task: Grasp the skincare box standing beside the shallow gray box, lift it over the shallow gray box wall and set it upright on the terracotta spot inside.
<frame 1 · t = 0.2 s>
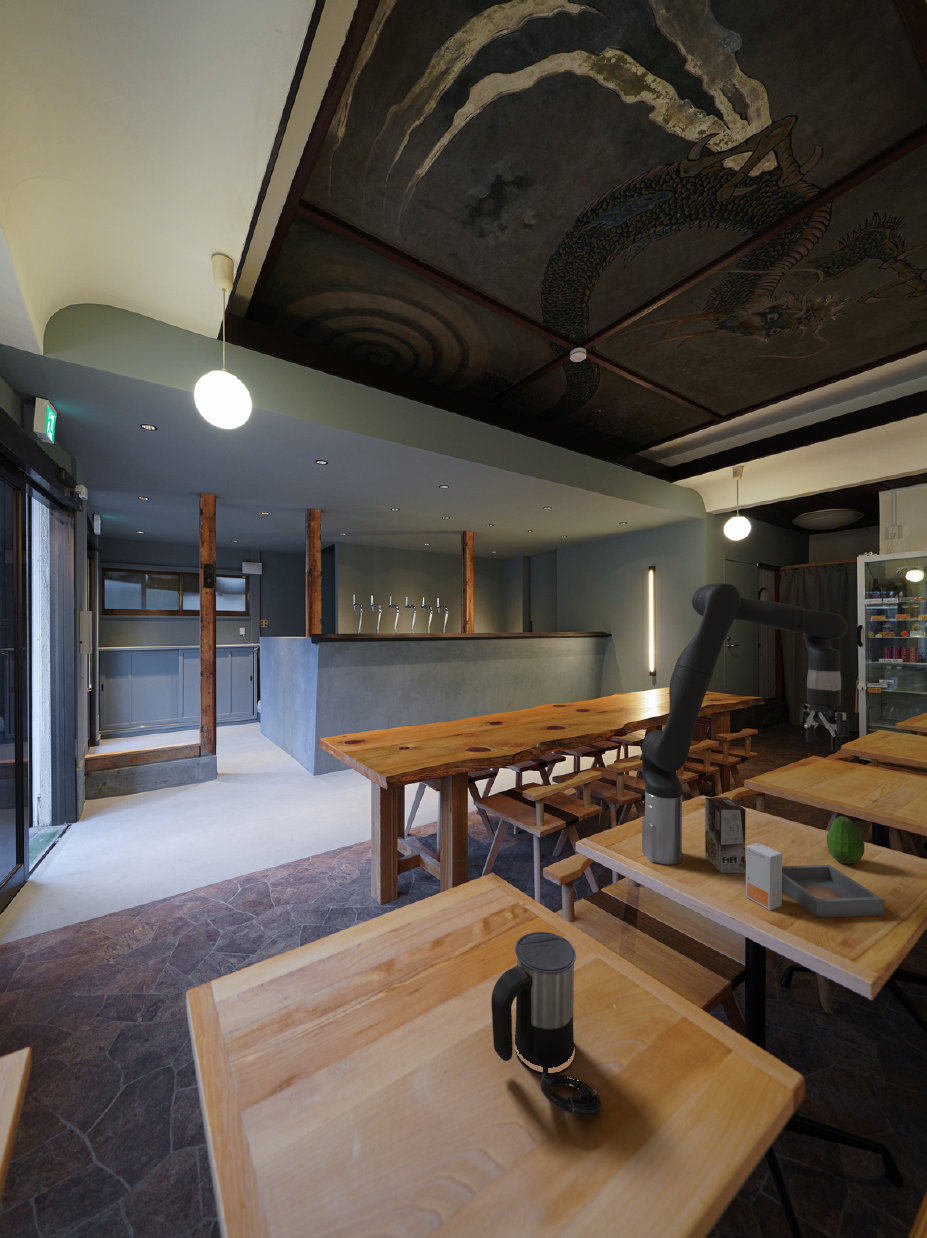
hand: (822, 746, 138), 29 cm above the table, fingers open, 8 cm apart
avocado: (845, 863, 133), on the table
milk frother: (556, 1073, 72), on the table
skincare box: (763, 903, 115), on the table
shallow gray box: (823, 897, 117), on the table
coffee box: (724, 865, 132), on the table
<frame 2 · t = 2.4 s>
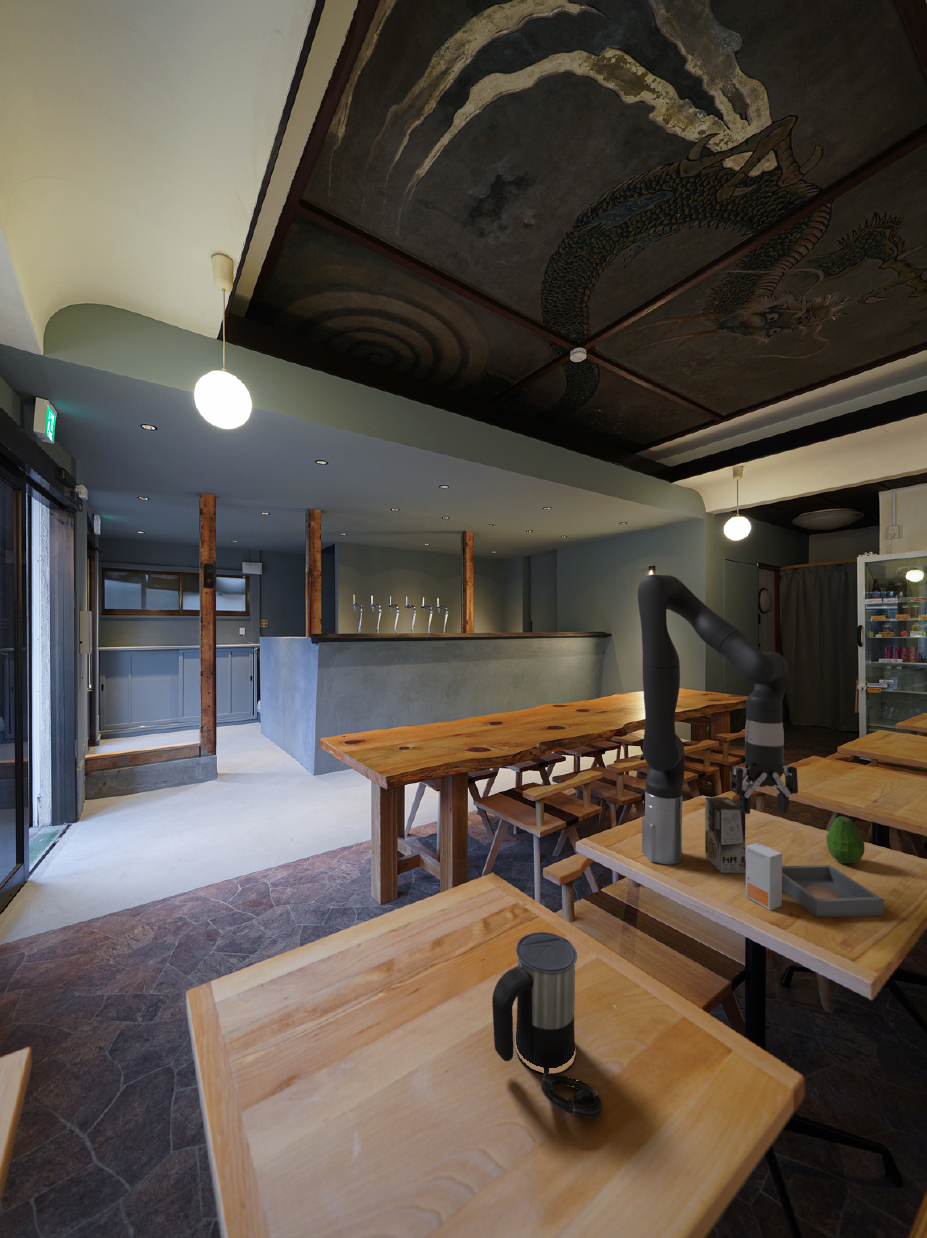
hand: (764, 812, 114), 20 cm above the table, fingers open, 8 cm apart
nothing on the table moved.
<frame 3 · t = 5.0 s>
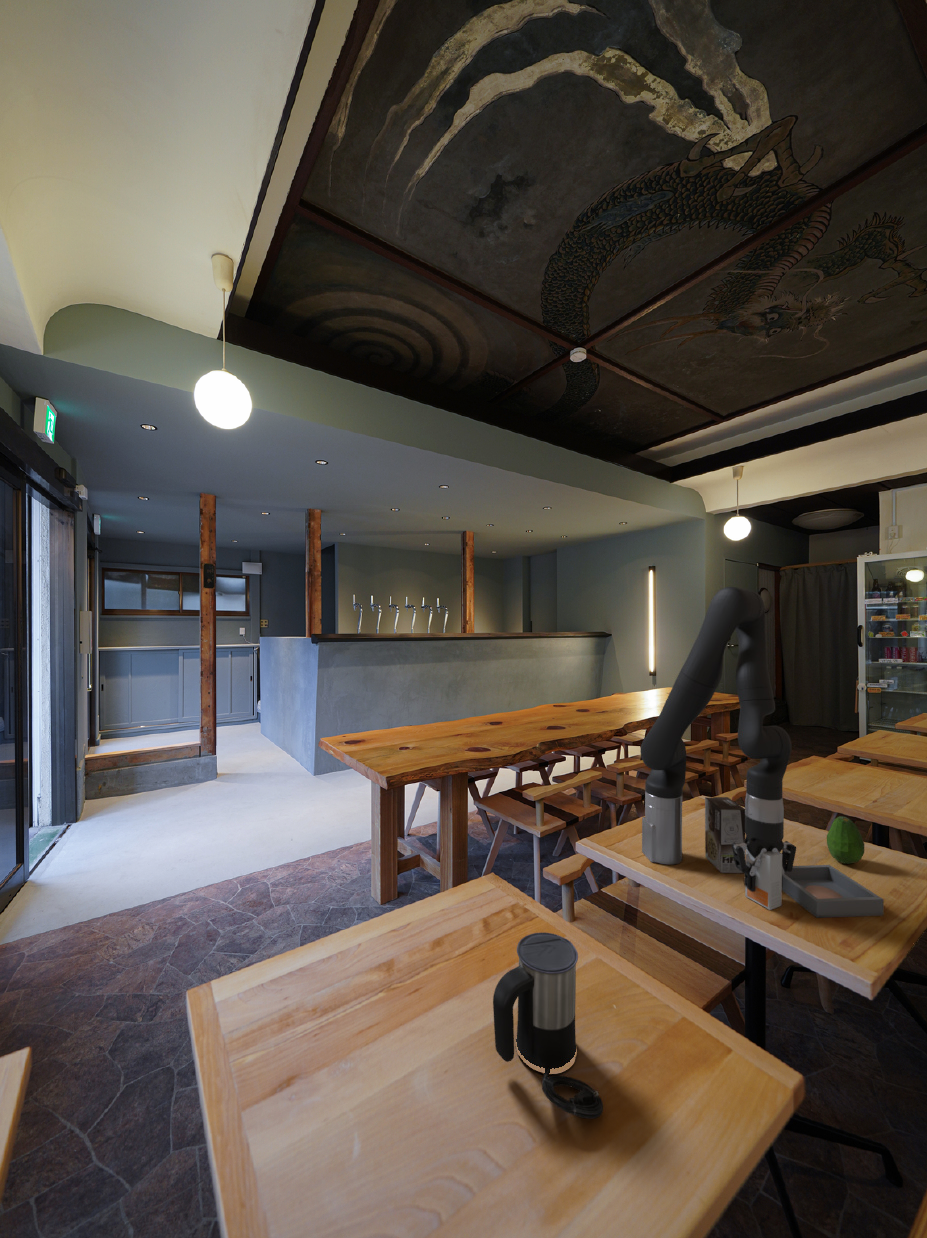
hand: (763, 889, 115), 3 cm above the table, fingers closed on skincare box, 5 cm apart
skincare box: (763, 902, 115), on the table, touching gripper
everything else where it was.
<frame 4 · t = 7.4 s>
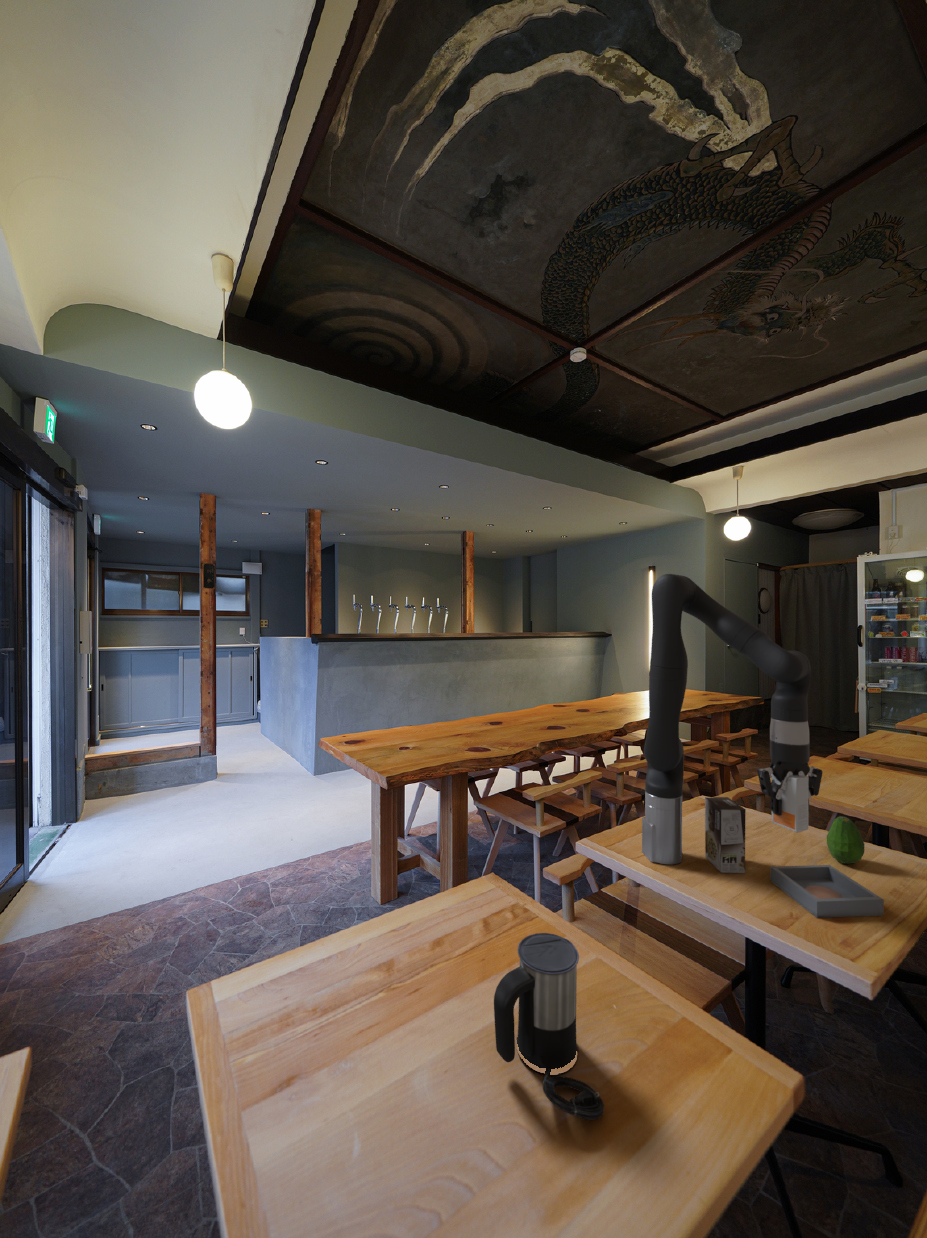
hand: (789, 813, 115), 20 cm above the table, fingers closed on skincare box, 5 cm apart
skincare box: (789, 827, 115), point 17 cm above the table, touching gripper
everything else where it was.
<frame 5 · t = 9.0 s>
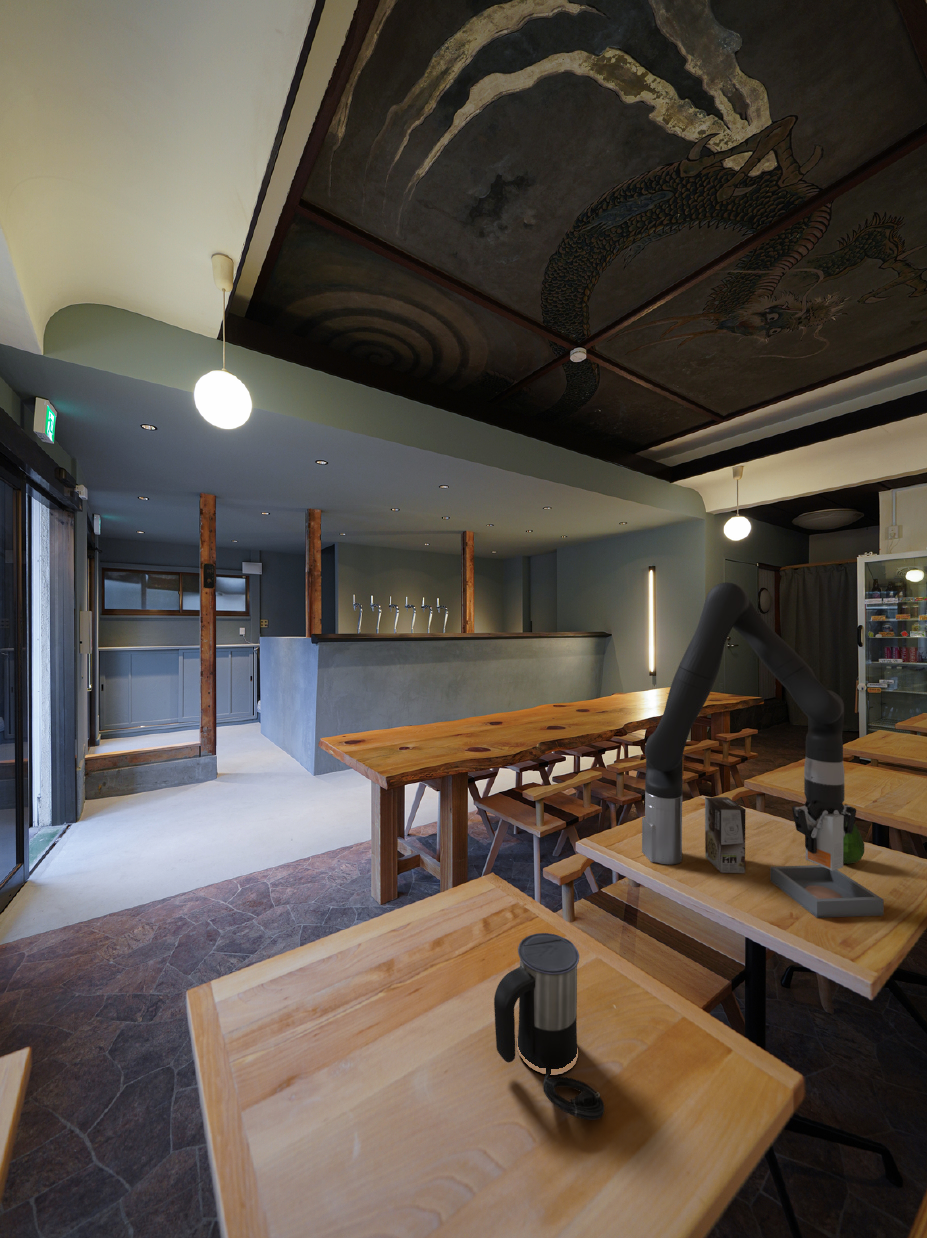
hand: (824, 851, 117), 11 cm above the table, fingers closed on skincare box, 5 cm apart
skincare box: (824, 864, 117), point 7 cm above the table, touching gripper
everything else where it was.
when the fingers open (5 cm above the table, at t = 10.3 s): skincare box drops 1 cm, resting on shallow gray box.
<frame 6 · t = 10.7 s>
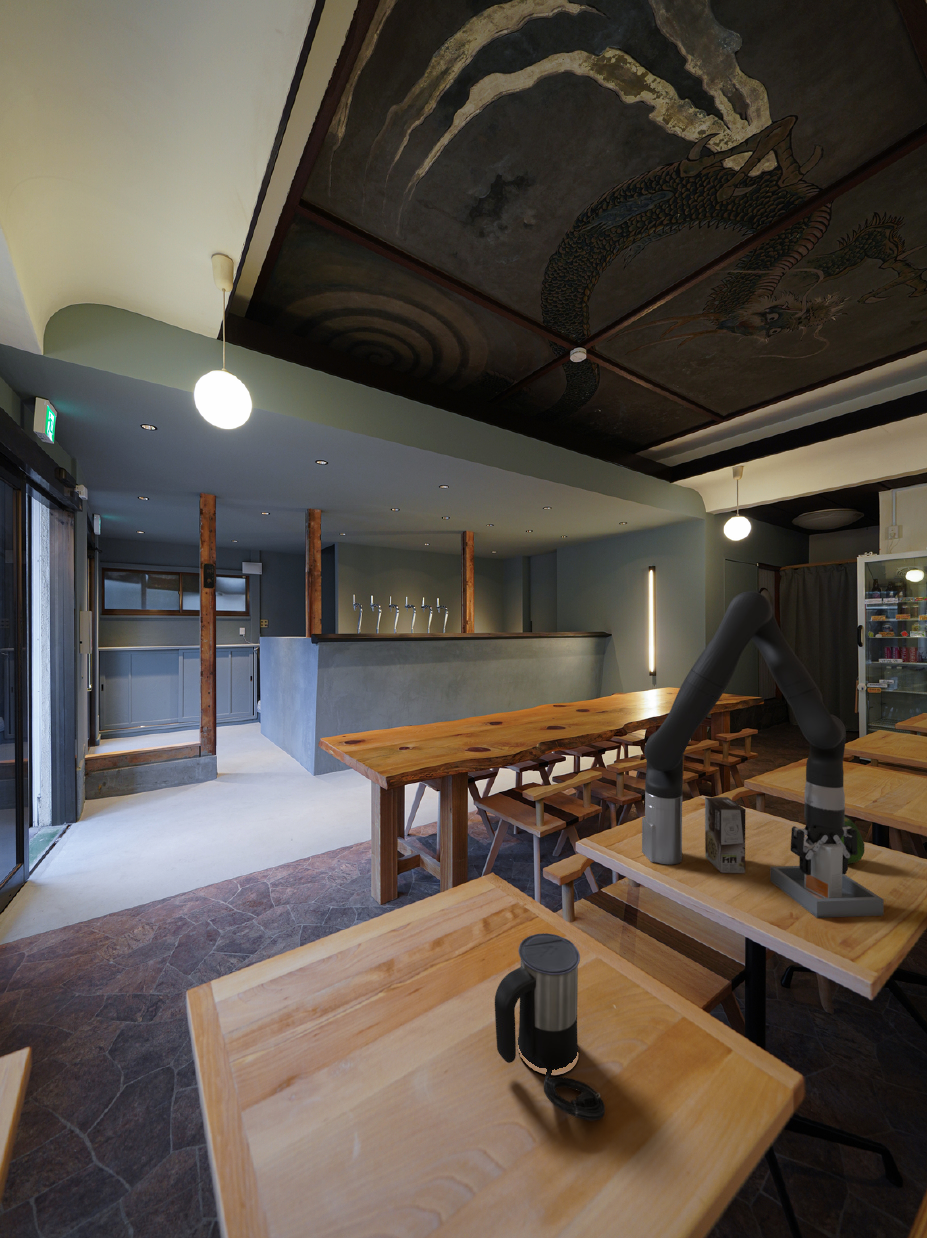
hand: (823, 873, 116), 6 cm above the table, fingers open, 8 cm apart
skincare box: (822, 894, 117), point 1 cm above the table, touching shallow gray box
everything else where it was.
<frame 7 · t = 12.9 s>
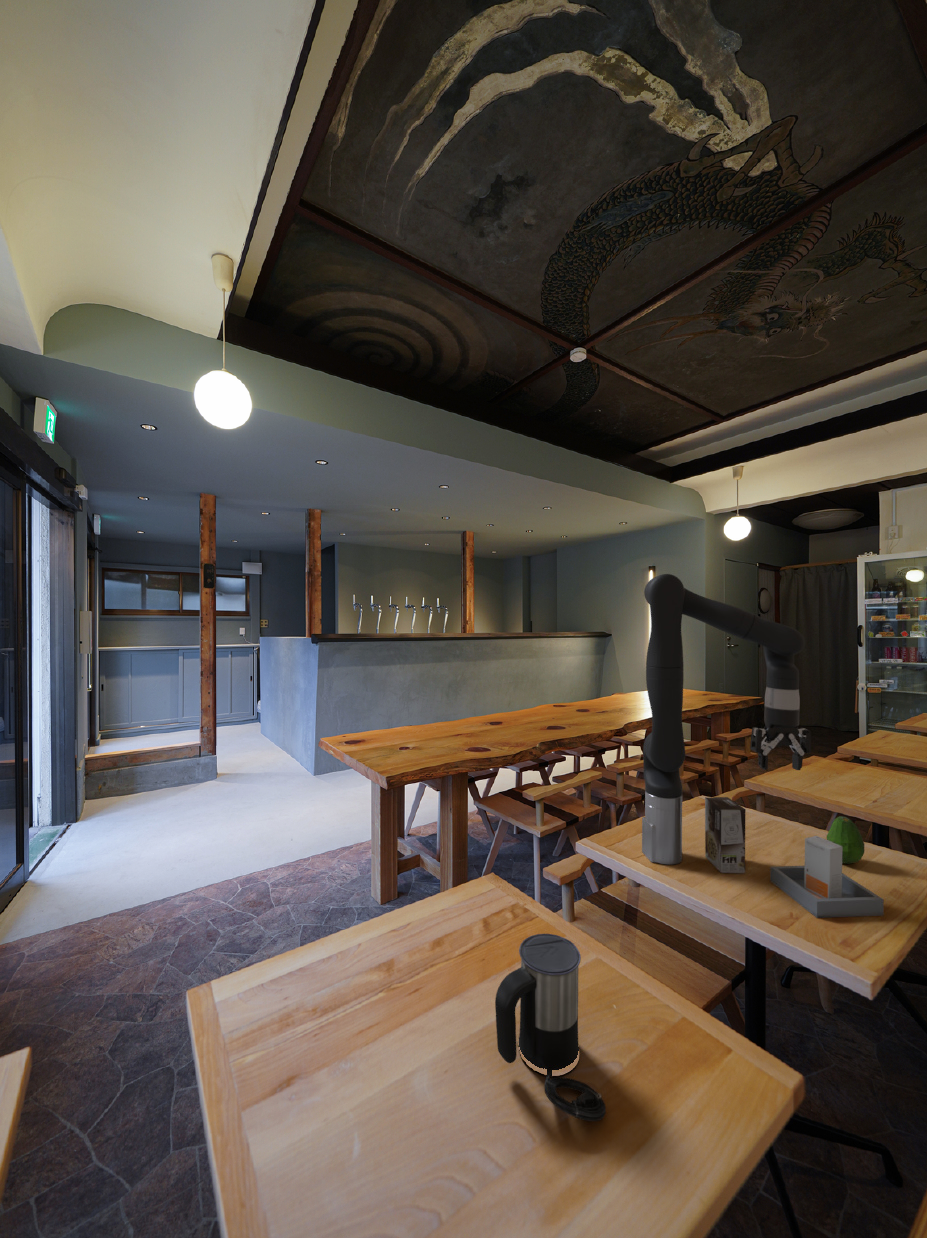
hand: (780, 769, 129), 25 cm above the table, fingers open, 8 cm apart
nothing on the table moved.
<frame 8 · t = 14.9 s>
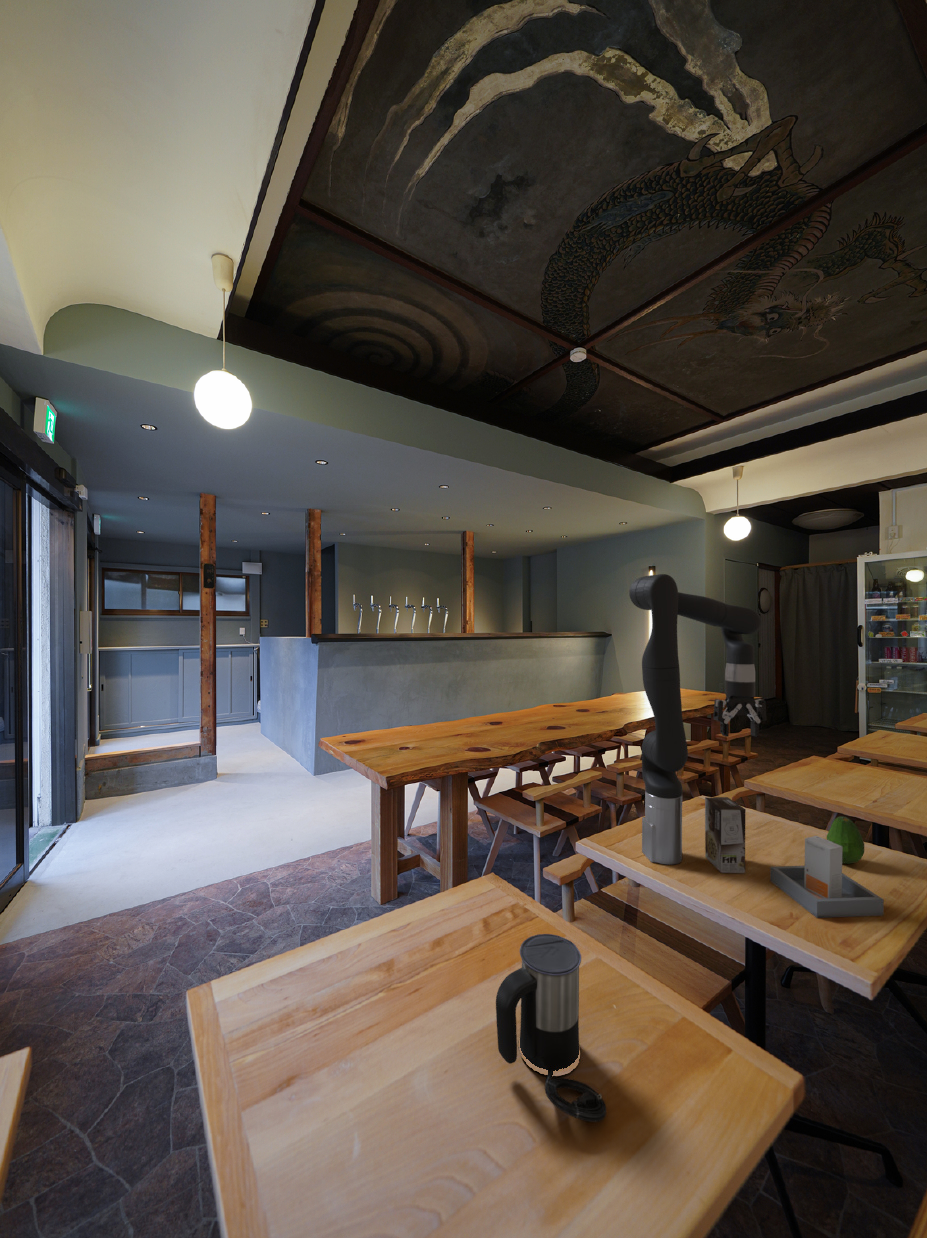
hand: (739, 736, 145), 30 cm above the table, fingers open, 8 cm apart
nothing on the table moved.
at the end: skincare box 0.2 cm off-centre on the shallow gray box, point 0.6 cm above the shallow gray box's base; skincare box tilted 0°; the gripper is holding nothing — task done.
